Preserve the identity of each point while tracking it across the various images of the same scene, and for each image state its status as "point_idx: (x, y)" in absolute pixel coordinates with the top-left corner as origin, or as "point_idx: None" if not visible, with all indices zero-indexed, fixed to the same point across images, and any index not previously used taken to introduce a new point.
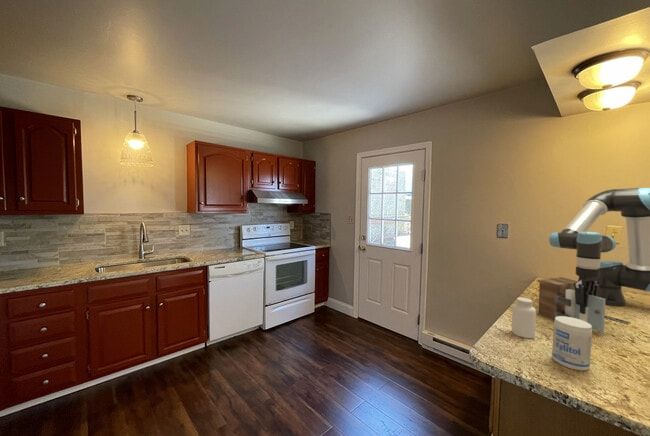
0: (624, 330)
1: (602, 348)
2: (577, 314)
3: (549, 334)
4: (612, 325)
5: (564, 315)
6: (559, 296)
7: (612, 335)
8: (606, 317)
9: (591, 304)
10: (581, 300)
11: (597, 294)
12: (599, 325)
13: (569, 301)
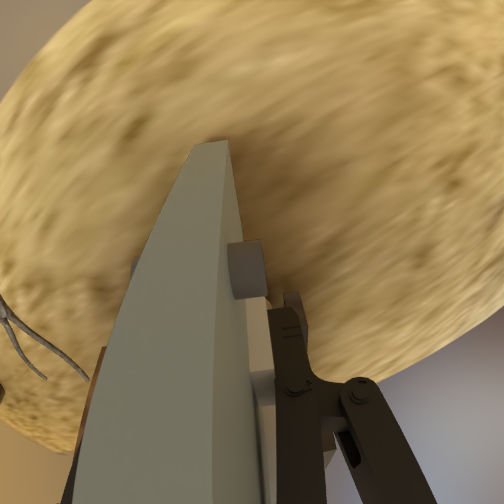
0: (11, 199)
1: (426, 24)
2: None
3: (484, 214)
4: (24, 254)
5: (307, 339)
6: None
7: (135, 132)
8: (7, 313)
9: (248, 401)
10: (404, 442)
11: (62, 501)
12: (229, 170)
13: (331, 436)
